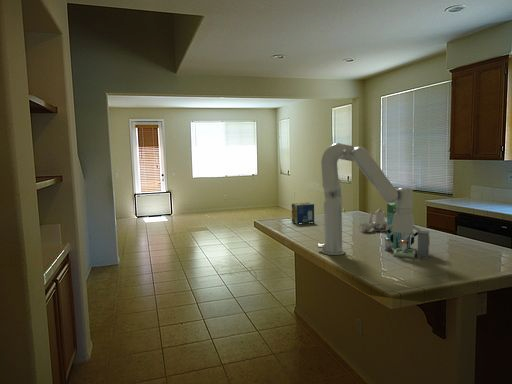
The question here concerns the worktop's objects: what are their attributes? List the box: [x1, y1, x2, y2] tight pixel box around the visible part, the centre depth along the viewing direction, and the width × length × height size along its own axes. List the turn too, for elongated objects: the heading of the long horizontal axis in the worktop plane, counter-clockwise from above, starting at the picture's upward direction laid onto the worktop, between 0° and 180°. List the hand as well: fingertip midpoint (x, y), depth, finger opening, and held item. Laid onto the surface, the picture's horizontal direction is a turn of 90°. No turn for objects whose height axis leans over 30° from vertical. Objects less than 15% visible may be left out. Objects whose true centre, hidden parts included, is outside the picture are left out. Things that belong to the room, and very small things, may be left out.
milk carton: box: [386, 202, 411, 250], centre depth 218 cm, size 9×9×25 cm
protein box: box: [291, 202, 315, 225], centre depth 304 cm, size 10×15×16 cm
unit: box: [417, 230, 431, 259], centre depth 197 cm, size 5×7×13 cm
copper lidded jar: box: [400, 239, 409, 253], centre depth 200 cm, size 4×4×7 cm
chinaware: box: [358, 207, 387, 233], centre depth 261 cm, size 28×17×17 cm, turn 76°
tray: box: [393, 248, 417, 259], centre depth 201 cm, size 10×10×2 cm
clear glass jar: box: [384, 236, 393, 252], centre depth 211 cm, size 4×4×7 cm
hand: (401, 243), depth 200 cm, fingers open, 9 cm apart
